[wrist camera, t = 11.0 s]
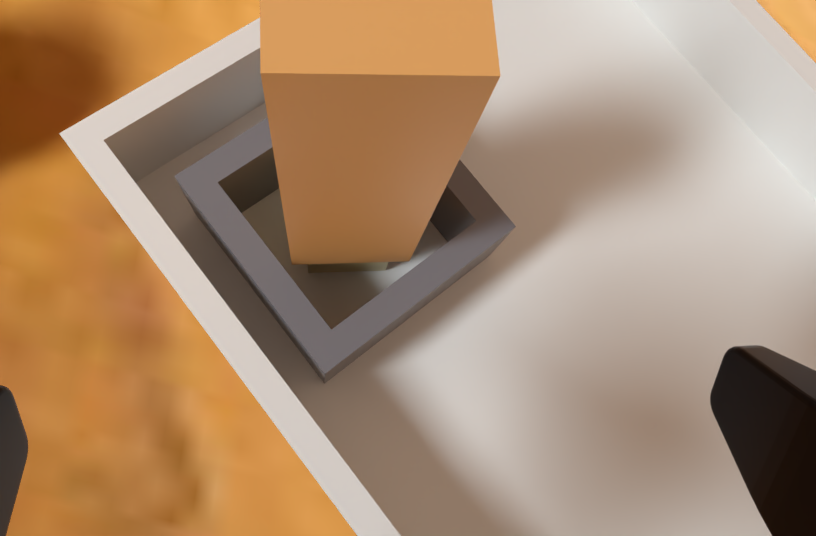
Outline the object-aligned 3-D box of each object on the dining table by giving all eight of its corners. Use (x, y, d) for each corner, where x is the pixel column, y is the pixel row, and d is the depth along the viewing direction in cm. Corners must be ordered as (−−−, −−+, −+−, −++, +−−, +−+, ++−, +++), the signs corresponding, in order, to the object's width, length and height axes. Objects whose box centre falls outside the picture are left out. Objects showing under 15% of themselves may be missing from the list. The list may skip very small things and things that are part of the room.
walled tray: (987, 393, 23) (1120, 383, 19) (596, 847, 18) (671, 958, 14) (551, -83, 26) (591, -174, 22) (106, 189, 21) (58, 133, 17)
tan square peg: (398, 282, 20) (500, 76, 9) (295, 285, 20) (260, 72, 8) (392, 187, 21) (479, -116, 10) (293, 188, 21) (258, -129, 9)
